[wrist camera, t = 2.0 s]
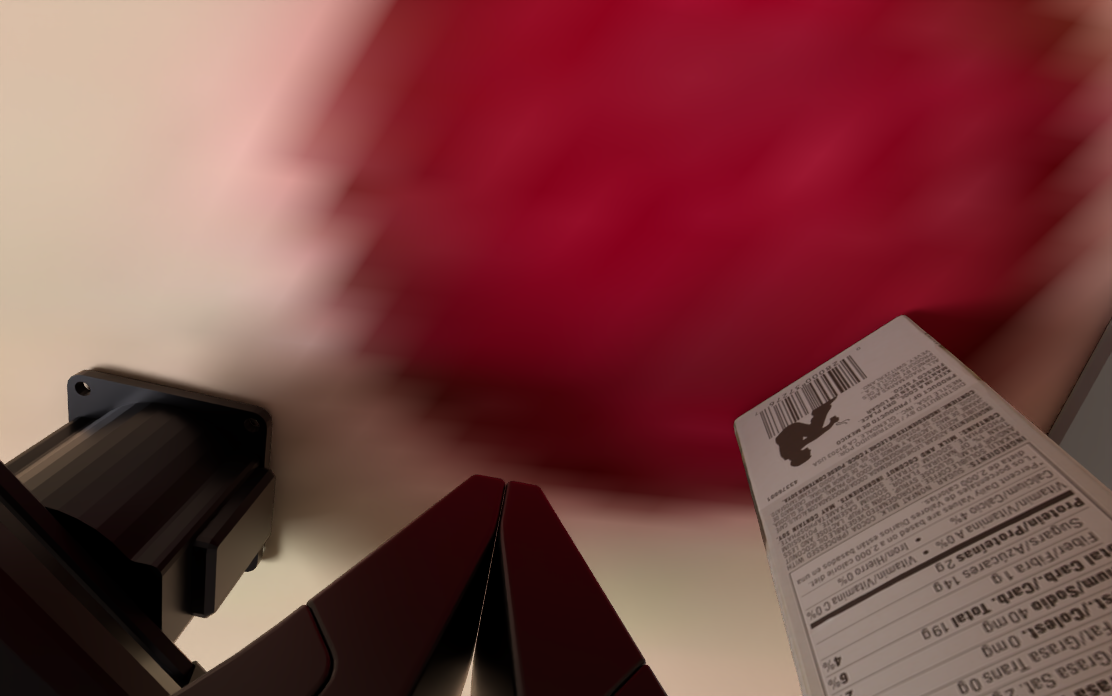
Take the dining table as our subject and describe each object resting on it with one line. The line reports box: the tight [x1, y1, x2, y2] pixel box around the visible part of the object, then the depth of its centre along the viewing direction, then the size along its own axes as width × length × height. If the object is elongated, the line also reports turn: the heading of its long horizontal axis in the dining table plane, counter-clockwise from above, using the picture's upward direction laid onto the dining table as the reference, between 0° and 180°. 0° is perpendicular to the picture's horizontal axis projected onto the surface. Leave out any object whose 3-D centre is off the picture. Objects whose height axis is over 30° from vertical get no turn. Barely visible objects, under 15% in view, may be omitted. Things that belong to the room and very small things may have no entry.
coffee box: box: [734, 315, 1112, 696], centre depth 15 cm, size 9×6×16 cm
